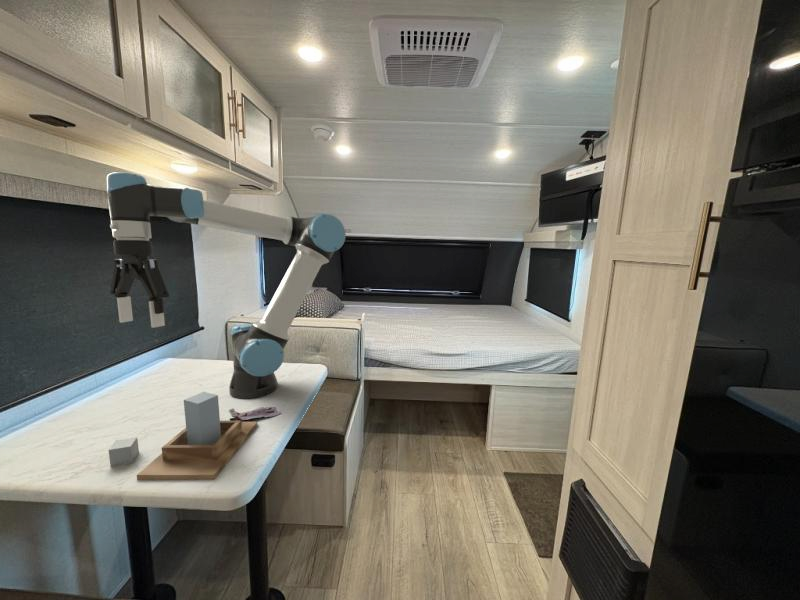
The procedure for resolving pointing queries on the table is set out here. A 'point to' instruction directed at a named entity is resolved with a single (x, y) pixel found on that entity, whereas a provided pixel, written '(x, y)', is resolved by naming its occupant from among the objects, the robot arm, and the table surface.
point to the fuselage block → (202, 419)
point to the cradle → (198, 454)
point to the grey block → (123, 451)
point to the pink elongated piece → (254, 413)
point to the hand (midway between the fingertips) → (141, 324)
